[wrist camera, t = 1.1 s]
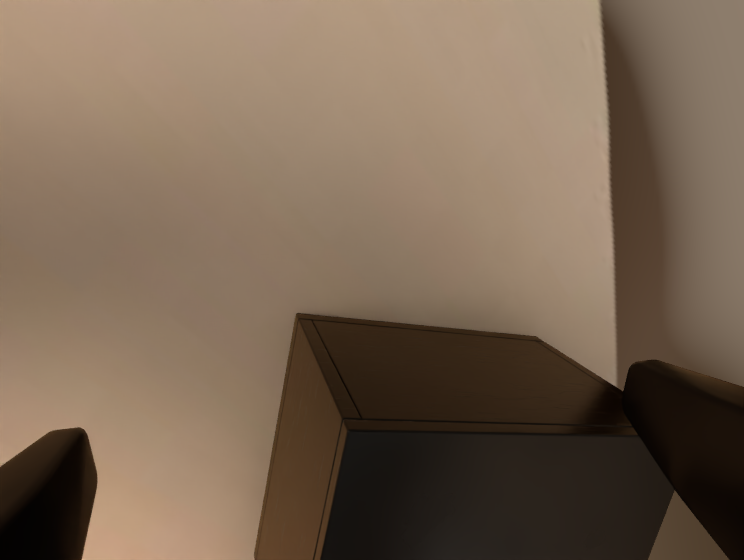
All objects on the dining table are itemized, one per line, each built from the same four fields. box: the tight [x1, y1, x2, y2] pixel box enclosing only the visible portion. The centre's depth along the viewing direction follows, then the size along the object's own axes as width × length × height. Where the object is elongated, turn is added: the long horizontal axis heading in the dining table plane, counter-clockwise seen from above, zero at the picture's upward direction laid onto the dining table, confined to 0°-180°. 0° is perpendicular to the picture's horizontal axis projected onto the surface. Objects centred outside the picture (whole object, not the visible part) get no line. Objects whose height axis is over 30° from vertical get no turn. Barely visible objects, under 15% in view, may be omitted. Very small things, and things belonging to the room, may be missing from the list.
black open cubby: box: [254, 313, 675, 560], centre depth 21 cm, size 13×13×10 cm
